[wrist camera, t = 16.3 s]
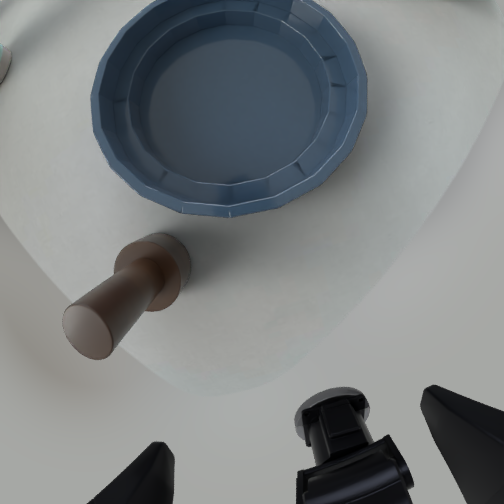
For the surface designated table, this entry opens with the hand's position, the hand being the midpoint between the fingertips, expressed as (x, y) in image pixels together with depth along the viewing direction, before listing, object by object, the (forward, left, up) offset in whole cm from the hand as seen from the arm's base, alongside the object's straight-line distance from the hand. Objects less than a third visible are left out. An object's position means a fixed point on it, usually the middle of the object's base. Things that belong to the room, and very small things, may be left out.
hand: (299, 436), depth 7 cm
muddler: (+4, +7, -12) cm, 14 cm away
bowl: (+14, 0, -12) cm, 18 cm away
